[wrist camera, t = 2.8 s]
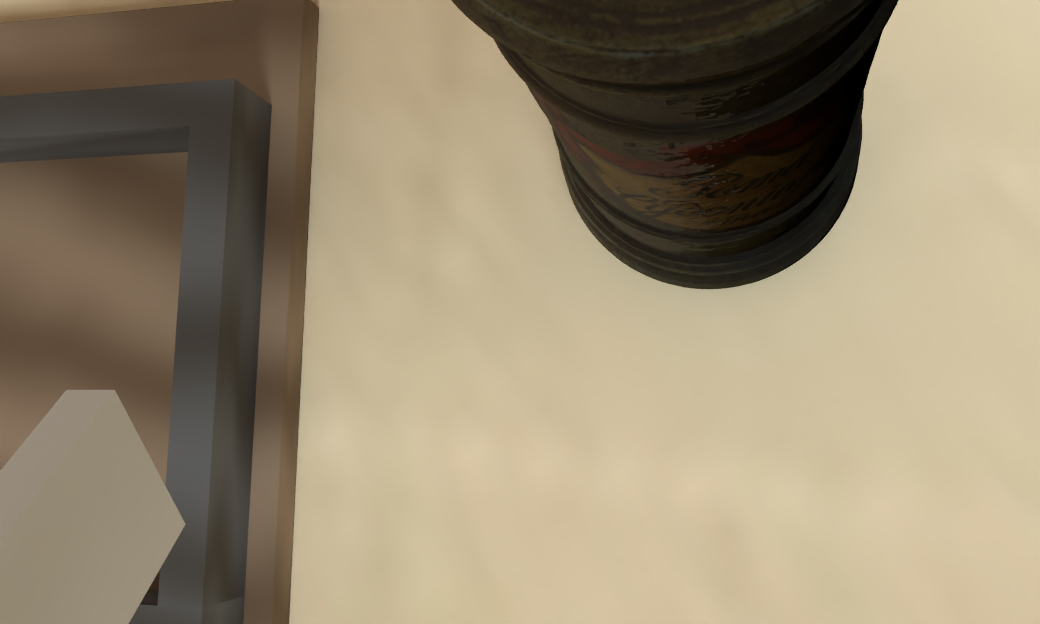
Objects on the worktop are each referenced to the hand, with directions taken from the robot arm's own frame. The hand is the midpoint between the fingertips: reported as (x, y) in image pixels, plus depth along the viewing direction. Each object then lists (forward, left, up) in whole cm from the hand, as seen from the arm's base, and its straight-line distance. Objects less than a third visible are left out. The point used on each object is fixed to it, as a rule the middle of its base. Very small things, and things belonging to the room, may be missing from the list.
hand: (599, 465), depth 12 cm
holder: (+14, +19, -18) cm, 29 cm away
